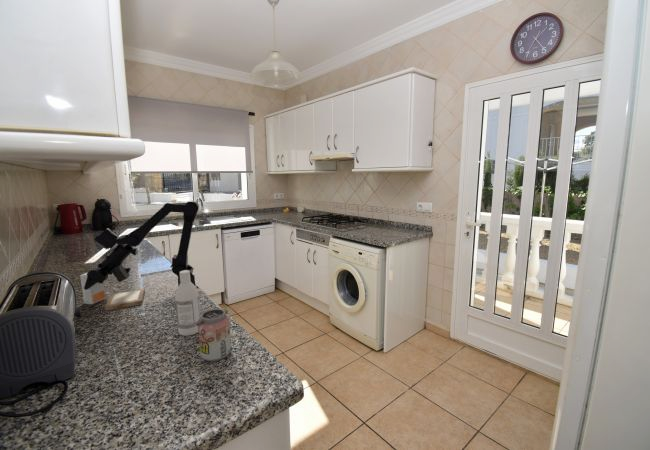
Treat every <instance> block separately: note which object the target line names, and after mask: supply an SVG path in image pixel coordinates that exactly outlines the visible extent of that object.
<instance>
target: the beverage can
mask: <svg viewBox="0 0 650 450" xmlns="http://www.w3.org/2000/svg"><path fill="white" fill-rule="evenodd" d="M228 312H229V311H228V309H226V308H225V309H222V308H212V309H207V310H205V311H204V312H202V313H201V315H200V319H198V321H197V322H196V323H195V325H196V326H198V333H197V334H198V343H199V350H200V352H199V353H200V357H201V359H202V360H205V361H206V362H219V361H221V360H222V359H224V358H226V357H227V356H228V355H229V354H230V353H231V351H232V339H231V327H230V319H229V317H228V316H227V314H228Z"/></svg>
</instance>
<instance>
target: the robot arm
mask: <svg viewBox="0 0 650 450" xmlns="http://www.w3.org/2000/svg"><path fill="white" fill-rule="evenodd" d="M199 209H200V204H199V203H198V202H197V201H195V200H188V201H186V202H171V201H169V202H166V203H164V205H163V206H162V207H161V208H160V209H159V210H158V211H156V212H155V213H154V214H153V215H152V216H151V217H150V218H148V220H146V221H145V222H144V223H143V224H142V225H140V226H139V227H137V228H135V229H134V230H132V231H131V232H129V233H128V234H122V235H120V236H119V235H118V234H116V233H115V232H114V231H112V230H111V229H110V228H109V227H108V228H105V229H104V230H103V231H102V232H100V234H98V235H96V236H95V238H94V239H93V240H92V241H93V242H95V243H96V244H97V245H98V246H100V247H102V248H104V250H109V249H110V250H111V252H110V253H108V254H106V256H105V258H103V260H101V262H99V263H98V264H97V267H92V268H91V269H89V271H87V272H86V273H87V280H86V283H85V286H84V289H85V290H87V289H89V288H90V287H92V286H93V285H94V284H96V283H101V284H102V283H103V282H104V283H105V281H106V280H108V278H109V275H112V274H113V276H114V277H115V278H116V281H118V283H122V282H123V281H125V280H127V279H128V278H129V277H130V271H131V268H130V267H129V266H124V265H123V263H124V261H125V260H126V259H127V258H128V257H129V256H130V255H133V256H137V255H138V253H139V252H138V247H137V246H139V245H141V244H142V243H143V242H144V241H145V239H146V237H147V236H148V235H149V234H150V233H151V231H152V230H153V229H154V228H155V227H157V226H158V224H160V223H161V222H162V221H163V220H164V219H165V218H166V217H167V216H168V215H170V213H181V214H182V215H183V223H182V224H183V225H182V229H181V230H182V231H181V234H180V235H181V236H180V240H179V246H178V252H177V254H173V256H172V258H171V265H170V268H171V271H172V273H173V274H175V275H176V276H177V285H178V286H177V288H178V287H179V285H180V283H181V282H180V271H183V270H189V271H190V279H191V282H192V283H193V285H194V286H195V287H196V288H197V289H198V288H199V286H198V285H196V278H195V274H193V272H194V269H195V268H194V267H193V266H192V265H190V264H189V253H188V252H189V248H190V243H191V236H192V230H193V226H194V222H195V219H196V217H197V215H198V213H199ZM113 248H114V249H113ZM112 249H113V250H112ZM176 291H177V289H176Z"/></svg>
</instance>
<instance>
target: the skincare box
mask: <svg viewBox="0 0 650 450" xmlns="http://www.w3.org/2000/svg"><path fill="white" fill-rule="evenodd" d="M87 273H88V272H85V273H83V274H80V275H79V277H80V283H81V290H82V291H81V292H82V298H83V304H86V305H94V304H96V303H98V302H101V301H104V300H105V299H106V291H105V281H104V282H103V283H102V284H101V283H96V284H94V285H93V286H92V287H90V288H89V289H87V290H85V289H84V286H85V283H86V280H87Z"/></svg>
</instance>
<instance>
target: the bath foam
mask: <svg viewBox="0 0 650 450" xmlns="http://www.w3.org/2000/svg"><path fill="white" fill-rule="evenodd" d="M180 282H181V283H180V285H179V287H178V286H177V289H176V290H177V291H176V292H174V293H175V294H174V302H175V312H176V313H175V314H176V323H177V331H178V334H179V335H180V336H185V337H187V336H192V335H193V336H194V335H195V334H199V333H198V326H196V325H195V323H196V322H197V321H198V319H200V315H201V314H202V313H201V312H202V311H201V304H200V303H201V301H200V294H199V290H198V288H196V287H195V286H196V285H195V286H194V285H193V283H192V282H191V279H190V271H189V270H183V271H180Z"/></svg>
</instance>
